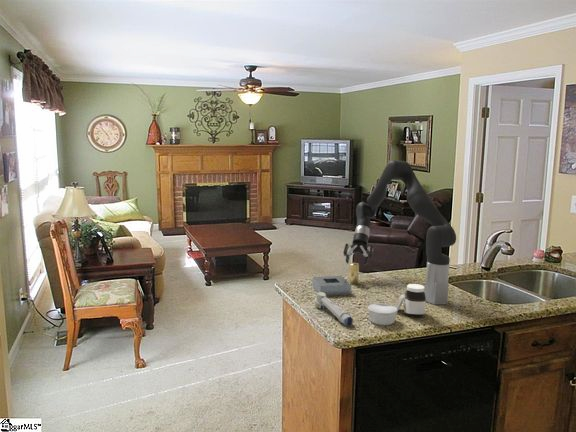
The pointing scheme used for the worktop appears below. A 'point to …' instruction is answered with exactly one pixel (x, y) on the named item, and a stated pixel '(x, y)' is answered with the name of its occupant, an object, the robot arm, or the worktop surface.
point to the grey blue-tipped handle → (332, 308)
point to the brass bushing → (354, 273)
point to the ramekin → (382, 313)
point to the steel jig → (332, 285)
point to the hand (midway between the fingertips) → (356, 263)
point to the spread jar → (413, 300)
